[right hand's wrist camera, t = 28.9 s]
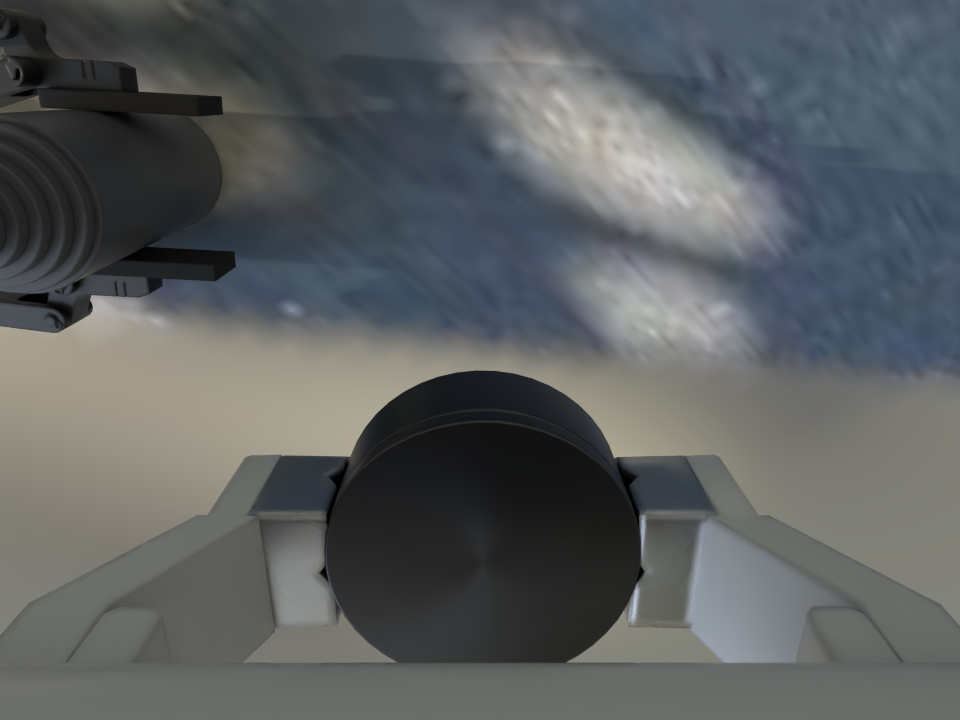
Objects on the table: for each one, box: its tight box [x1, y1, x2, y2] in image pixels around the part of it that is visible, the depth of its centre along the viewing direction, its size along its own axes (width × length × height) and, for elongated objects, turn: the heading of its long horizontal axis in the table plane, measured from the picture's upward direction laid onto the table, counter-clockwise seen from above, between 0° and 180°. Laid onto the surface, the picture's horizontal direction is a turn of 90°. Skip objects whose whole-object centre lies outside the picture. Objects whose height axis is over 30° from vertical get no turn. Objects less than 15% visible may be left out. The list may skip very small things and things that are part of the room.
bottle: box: [0, 109, 222, 294], centre depth 27 cm, size 6×6×18 cm
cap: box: [324, 371, 641, 663], centre depth 9 cm, size 4×4×2 cm
